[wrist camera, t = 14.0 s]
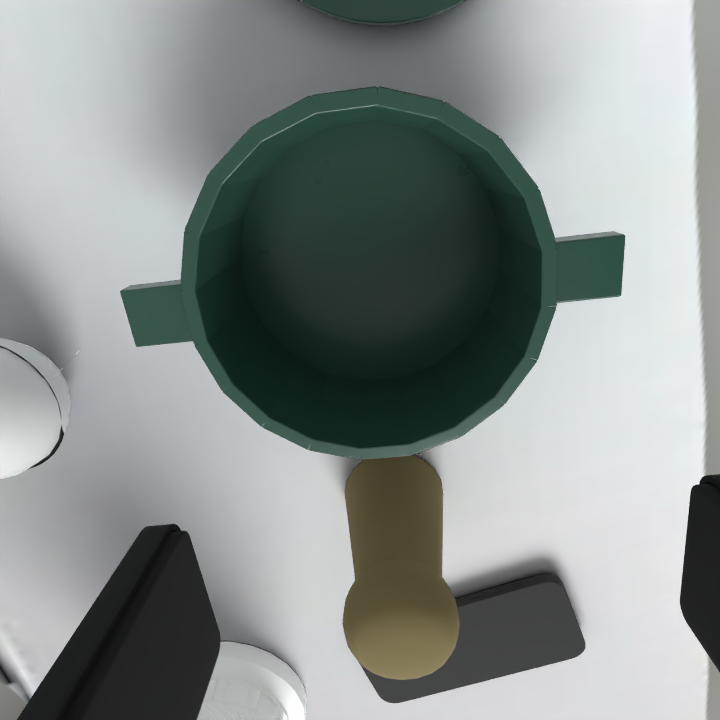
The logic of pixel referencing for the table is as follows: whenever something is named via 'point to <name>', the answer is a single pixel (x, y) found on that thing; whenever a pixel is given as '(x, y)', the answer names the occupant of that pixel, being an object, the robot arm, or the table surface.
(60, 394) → the white rounded upright piece
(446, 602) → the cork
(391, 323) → the pot
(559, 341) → the table surface
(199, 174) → the table surface
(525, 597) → the phone
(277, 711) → the decorative container
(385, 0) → the lid
